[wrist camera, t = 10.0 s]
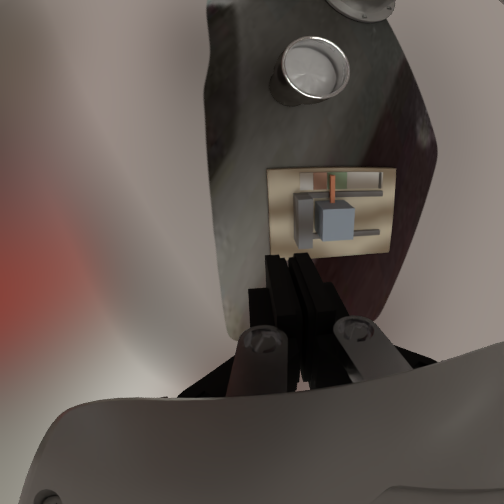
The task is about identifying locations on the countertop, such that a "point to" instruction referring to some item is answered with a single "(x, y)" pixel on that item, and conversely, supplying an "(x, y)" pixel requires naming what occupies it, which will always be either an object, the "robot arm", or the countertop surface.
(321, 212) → the slider block with pointer
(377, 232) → the gauge board
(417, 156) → the countertop surface
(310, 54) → the grey metal cup
